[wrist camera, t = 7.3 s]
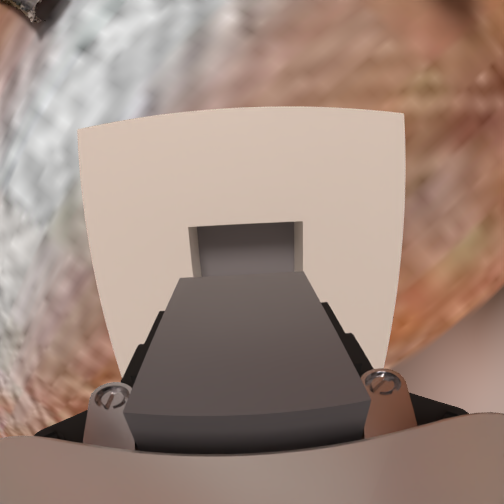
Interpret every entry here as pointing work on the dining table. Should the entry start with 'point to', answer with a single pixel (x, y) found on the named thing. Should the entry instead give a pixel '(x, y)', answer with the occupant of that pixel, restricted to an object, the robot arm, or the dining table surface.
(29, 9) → the table tennis paddle
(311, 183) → the socket
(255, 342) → the plug
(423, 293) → the dining table surface
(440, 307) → the dining table surface
